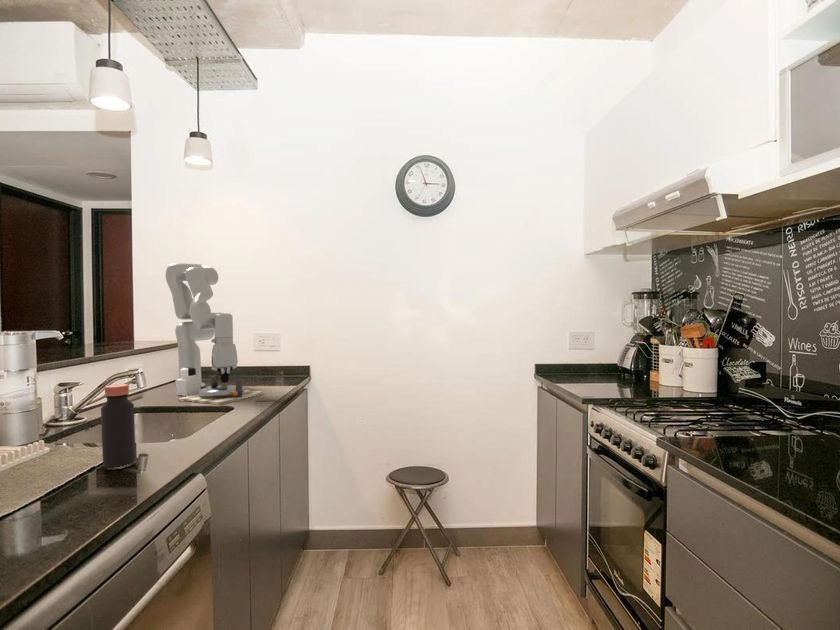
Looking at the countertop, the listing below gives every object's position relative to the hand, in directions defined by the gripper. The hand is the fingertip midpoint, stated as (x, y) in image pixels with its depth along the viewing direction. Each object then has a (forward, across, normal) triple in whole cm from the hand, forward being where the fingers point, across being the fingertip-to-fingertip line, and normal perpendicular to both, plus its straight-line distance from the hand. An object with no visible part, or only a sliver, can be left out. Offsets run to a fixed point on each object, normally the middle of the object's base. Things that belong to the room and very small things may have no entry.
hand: (224, 382), depth 209 cm
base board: (+5, -4, -8) cm, 10 cm away
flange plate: (+3, -4, -9) cm, 10 cm away
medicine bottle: (+5, -13, +9) cm, 16 cm away
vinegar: (+4, -52, -79) cm, 95 cm away
